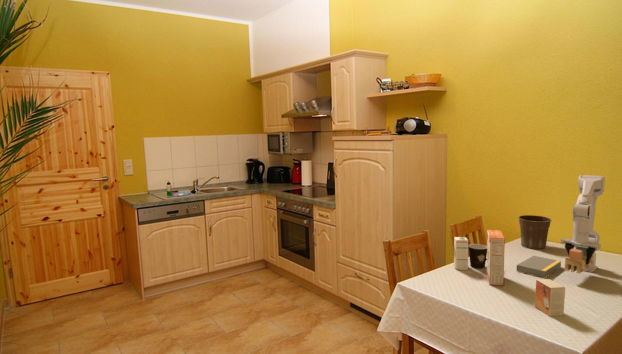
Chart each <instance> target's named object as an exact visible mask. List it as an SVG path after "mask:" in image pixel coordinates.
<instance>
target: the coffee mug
mask: <svg viewBox="0 0 622 354" xmlns="http://www.w3.org/2000/svg"><path fill="white" fill-rule="evenodd" d="M468 257H469V264H470V267H471V268H472V269H476V270H483V269H485V268H486V264H487V245H484V244H481V243H480V244H479V243H471V244H468Z"/></svg>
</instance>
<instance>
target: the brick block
mask: <svg viewBox="0 0 622 354" xmlns="http://www.w3.org/2000/svg"><path fill="white" fill-rule="evenodd" d="M568 258H570V259H575V260H580V261H582V260H583V250H578V249H575V248H574V249H571V250H570V251H569V255H568Z"/></svg>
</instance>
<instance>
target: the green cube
mask: <svg viewBox="0 0 622 354" xmlns="http://www.w3.org/2000/svg"><path fill="white" fill-rule="evenodd" d="M587 248H588V247H583V246H577V249H578V250H583V256H585V257H587V254H586V249H587Z"/></svg>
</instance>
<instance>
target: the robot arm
mask: <svg viewBox="0 0 622 354" xmlns="http://www.w3.org/2000/svg"><path fill="white" fill-rule="evenodd" d="M577 182H578V183H577V185H578V191H579V195H578V197H577V199H576V203H575V204H573V206H572V211H571V213H572V221H573V224H572V225H573V227H572V231H573V232H572V239H571V238H564V237H563V238H562V237H561V238H560V244H564V248H565V250H566V253H567V254H568V256H569V251H570V250H571V249H577V246H583V247H588V248H587V249H586V254H587V258H586V264H589V262H590V259H591V257H592V255H593V264H592V265H590V266H589V267H588V268H587V269H585V270H584V271H586V272H589V273H593V272H594V271H596V270H597V269H598V267H599V266H597V265H596V264H597V263H596V262H597V261H596V260H597V253H596V252H597V251H600V250H601V249H602V244H600V241H601V240H600V234H599V233H598V232H597V231H596V230H595V229H594V225H595V218H596V217H595V216H596V215H595V214H596V208H597V200H598V198H599V196H602V195H603V194H604V191H605V186H606V177H605V176H604V175H587V174H584V175H583V174H580V175H579V176H578V181H577ZM584 271H583V272H584Z"/></svg>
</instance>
